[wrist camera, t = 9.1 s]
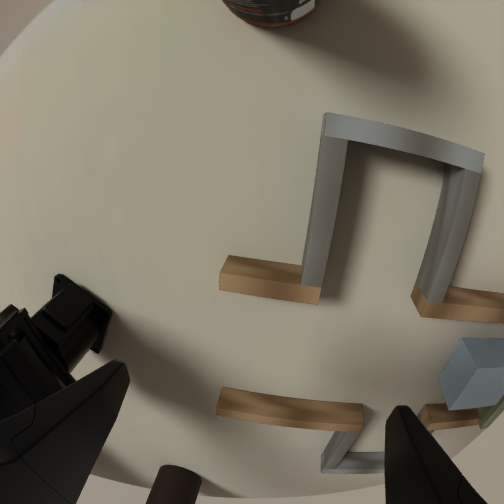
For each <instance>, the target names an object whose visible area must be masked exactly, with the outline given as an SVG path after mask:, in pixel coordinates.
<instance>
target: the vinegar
mask: <svg viewBox="0 0 504 504" xmlns="http://www.w3.org/2000/svg"><path fill="white" fill-rule="evenodd" d="M200 486H201V479H200V477H199V476H197V475H196V474H194V473H193V472H191V471H189V470H186V469H184V468H181V467H177V466H172V465H164V466H162V467H160V469H159V472H158V474H157V477H156V479H155V482H154V484H153V487H152V489H151V492H150V494H149V497H148V499H147V502H146V504H195V501H196V499H197V495H198V492H199V489H200Z"/></svg>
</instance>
